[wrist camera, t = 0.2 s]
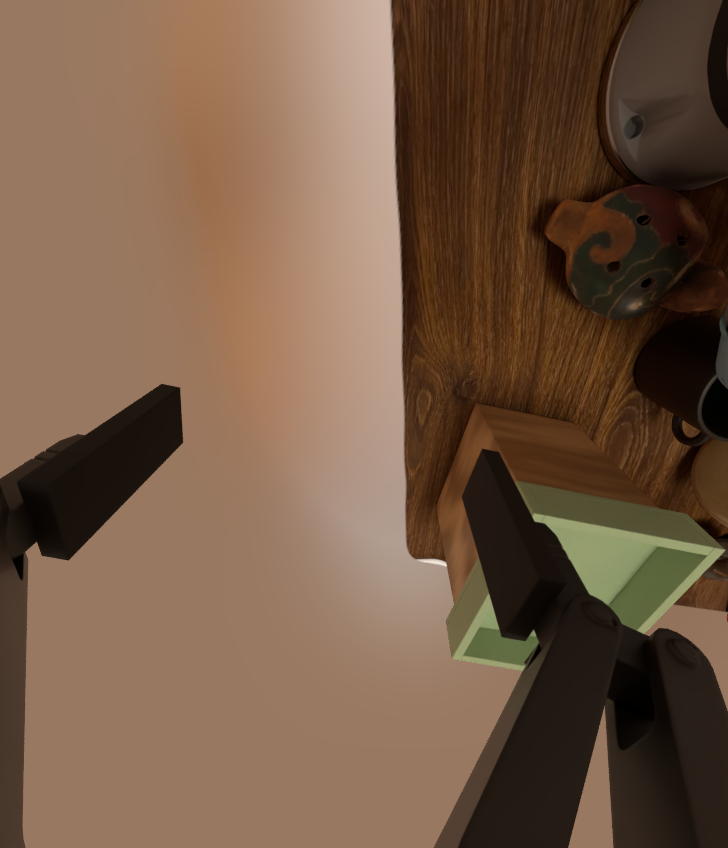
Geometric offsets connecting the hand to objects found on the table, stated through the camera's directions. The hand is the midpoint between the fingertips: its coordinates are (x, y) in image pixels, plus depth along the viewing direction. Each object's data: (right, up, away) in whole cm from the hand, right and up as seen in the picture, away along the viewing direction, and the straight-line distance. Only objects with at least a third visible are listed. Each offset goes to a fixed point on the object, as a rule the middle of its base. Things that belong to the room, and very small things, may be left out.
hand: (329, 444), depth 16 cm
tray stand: (+19, -5, +30) cm, 35 cm away
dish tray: (+18, -12, +16) cm, 27 cm away
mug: (+35, +7, +23) cm, 42 cm away
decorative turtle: (+24, +17, +18) cm, 34 cm away
